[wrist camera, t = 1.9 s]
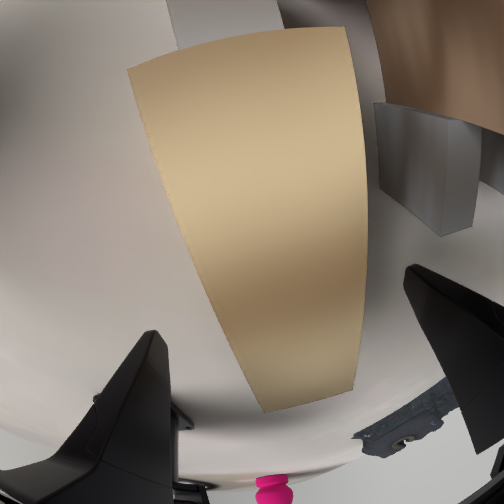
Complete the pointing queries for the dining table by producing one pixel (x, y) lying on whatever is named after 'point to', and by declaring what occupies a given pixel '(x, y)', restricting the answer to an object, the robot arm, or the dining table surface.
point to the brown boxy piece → (440, 105)
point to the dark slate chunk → (409, 421)
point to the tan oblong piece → (266, 187)
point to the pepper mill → (273, 490)
